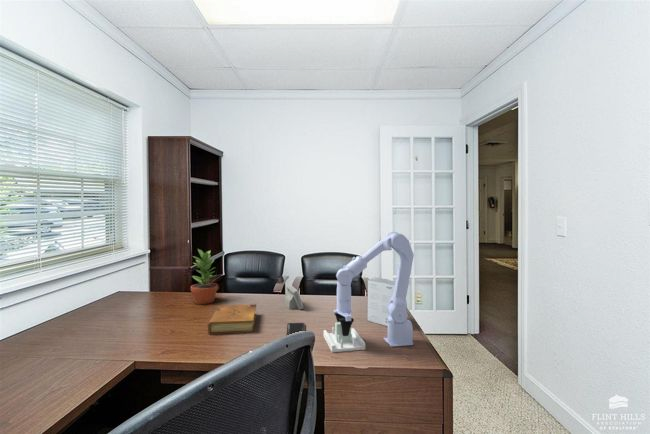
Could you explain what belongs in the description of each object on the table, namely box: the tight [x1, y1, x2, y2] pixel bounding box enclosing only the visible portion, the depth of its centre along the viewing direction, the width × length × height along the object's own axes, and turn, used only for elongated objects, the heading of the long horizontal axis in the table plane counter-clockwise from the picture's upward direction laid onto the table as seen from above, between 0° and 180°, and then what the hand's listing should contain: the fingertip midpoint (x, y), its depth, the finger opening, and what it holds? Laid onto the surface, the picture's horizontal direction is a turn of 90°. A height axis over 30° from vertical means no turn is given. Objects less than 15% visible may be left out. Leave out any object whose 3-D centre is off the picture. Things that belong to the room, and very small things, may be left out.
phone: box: [286, 322, 306, 336], centre depth 144 cm, size 8×1×15 cm
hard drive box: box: [366, 276, 396, 327], centre depth 154 cm, size 16×8×20 cm, turn 47°
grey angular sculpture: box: [284, 284, 304, 310], centre depth 178 cm, size 16×9×11 cm, turn 11°
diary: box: [207, 303, 257, 335], centre depth 152 cm, size 23×19×6 cm
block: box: [334, 321, 352, 342], centre depth 132 cm, size 6×2×7 cm, turn 102°
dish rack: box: [323, 326, 366, 353], centre depth 132 cm, size 13×16×4 cm
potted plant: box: [190, 248, 219, 305], centre depth 186 cm, size 15×15×30 cm
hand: (343, 332), depth 132 cm, fingers open, 5 cm apart
